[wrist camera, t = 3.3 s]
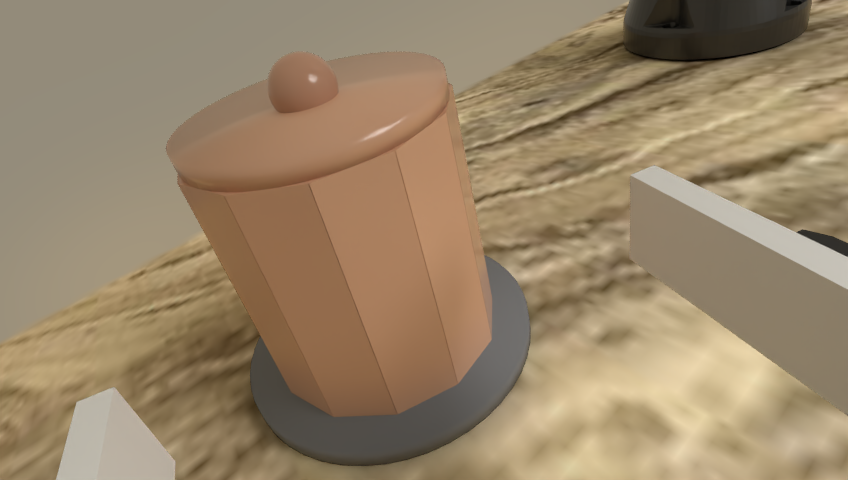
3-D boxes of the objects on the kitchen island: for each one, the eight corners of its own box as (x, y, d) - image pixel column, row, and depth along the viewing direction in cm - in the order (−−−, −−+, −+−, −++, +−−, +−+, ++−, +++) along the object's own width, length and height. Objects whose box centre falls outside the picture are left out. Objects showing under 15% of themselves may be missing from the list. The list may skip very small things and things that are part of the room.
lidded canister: (318, 270, 29) (223, 41, 22) (492, 252, 27) (447, -7, 20) (251, 420, 21) (71, 138, 14) (491, 410, 19) (415, 74, 12)
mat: (305, 266, 31) (300, 256, 31) (524, 243, 28) (522, 231, 28) (208, 468, 21) (199, 456, 20) (540, 462, 18) (537, 449, 18)
